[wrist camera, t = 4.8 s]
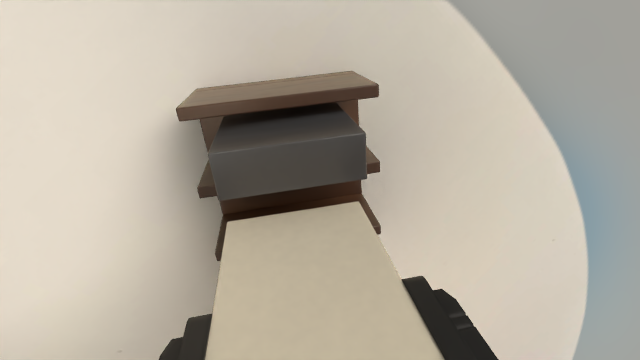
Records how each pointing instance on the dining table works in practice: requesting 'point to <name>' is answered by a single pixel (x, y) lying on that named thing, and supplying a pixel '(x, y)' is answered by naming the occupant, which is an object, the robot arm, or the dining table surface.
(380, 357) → the white box
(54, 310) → the dining table surface
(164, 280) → the dining table surface
